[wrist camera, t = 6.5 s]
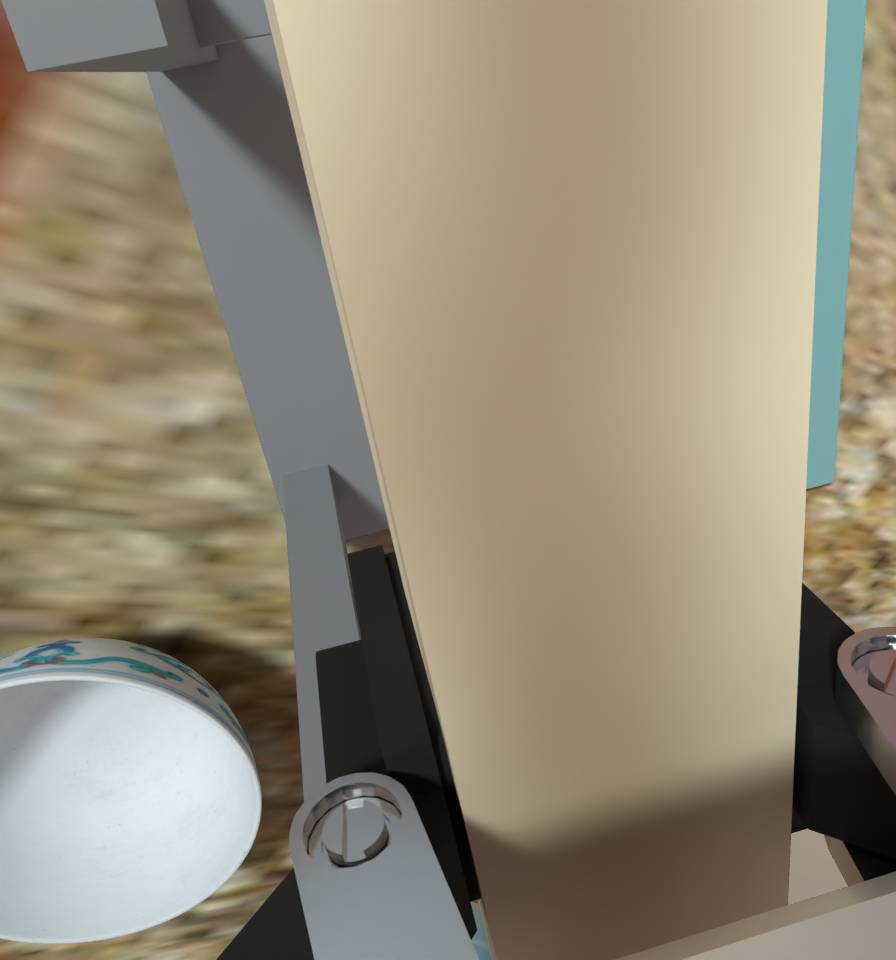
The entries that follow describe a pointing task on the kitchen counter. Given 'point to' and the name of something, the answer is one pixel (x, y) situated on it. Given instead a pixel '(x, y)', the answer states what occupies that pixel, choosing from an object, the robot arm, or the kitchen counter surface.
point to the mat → (834, 228)
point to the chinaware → (115, 790)
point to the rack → (250, 277)
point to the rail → (586, 422)
